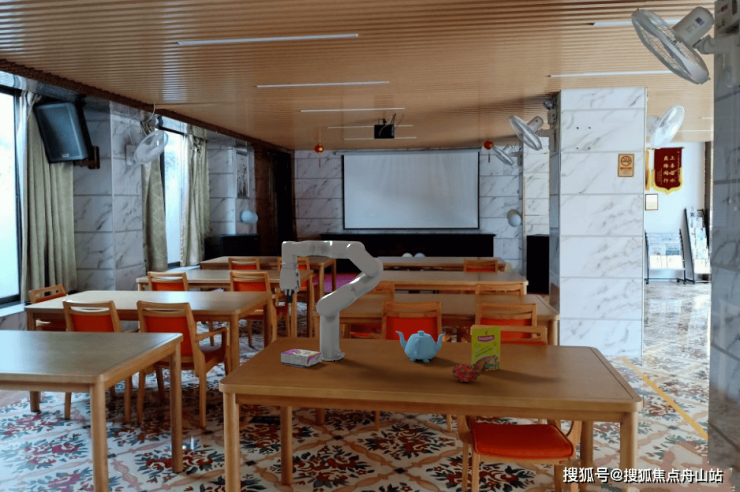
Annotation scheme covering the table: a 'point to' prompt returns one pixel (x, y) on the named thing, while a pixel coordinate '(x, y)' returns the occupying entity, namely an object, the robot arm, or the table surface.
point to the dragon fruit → (465, 373)
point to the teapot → (421, 346)
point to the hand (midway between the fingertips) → (289, 302)
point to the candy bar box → (301, 357)
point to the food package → (486, 349)
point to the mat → (294, 365)
